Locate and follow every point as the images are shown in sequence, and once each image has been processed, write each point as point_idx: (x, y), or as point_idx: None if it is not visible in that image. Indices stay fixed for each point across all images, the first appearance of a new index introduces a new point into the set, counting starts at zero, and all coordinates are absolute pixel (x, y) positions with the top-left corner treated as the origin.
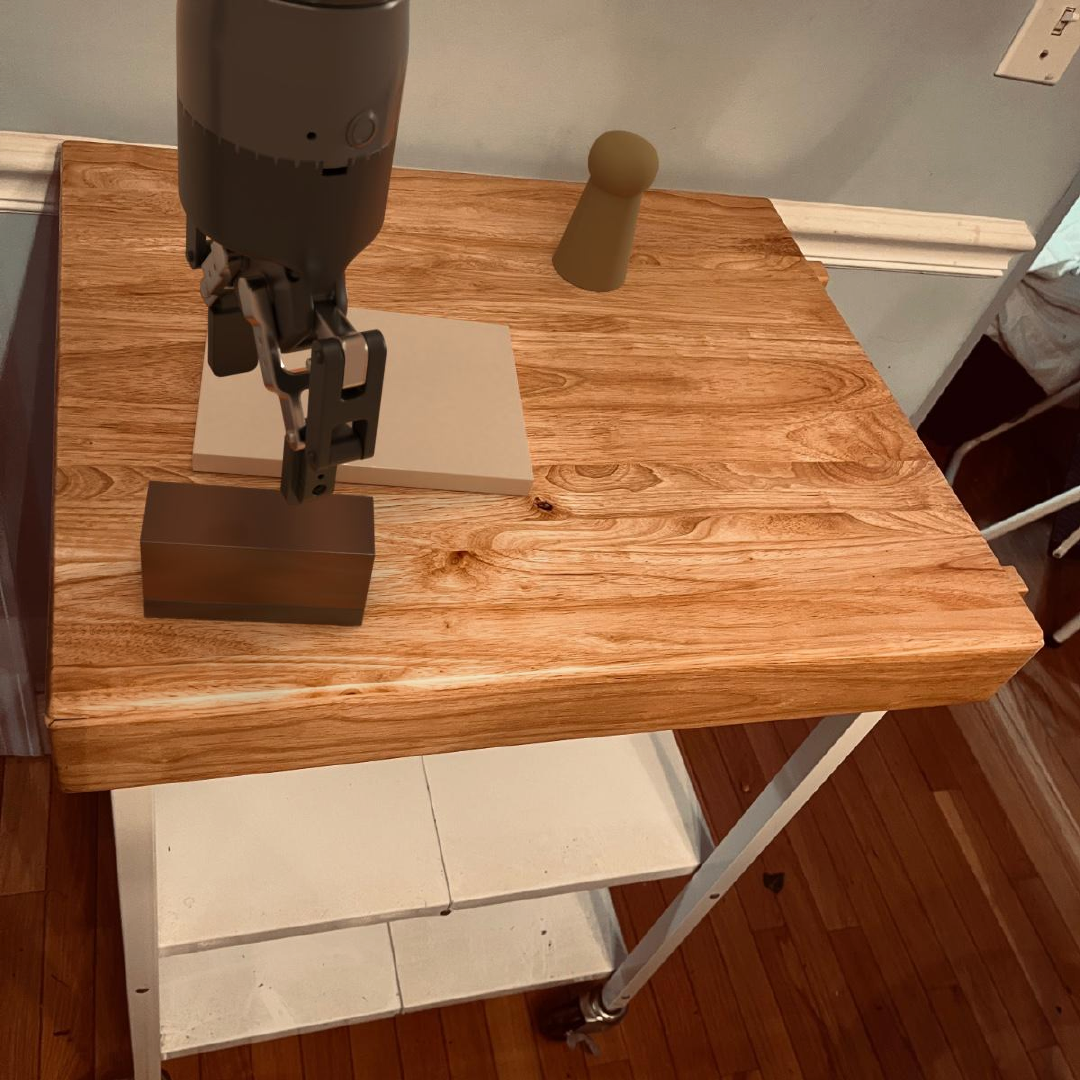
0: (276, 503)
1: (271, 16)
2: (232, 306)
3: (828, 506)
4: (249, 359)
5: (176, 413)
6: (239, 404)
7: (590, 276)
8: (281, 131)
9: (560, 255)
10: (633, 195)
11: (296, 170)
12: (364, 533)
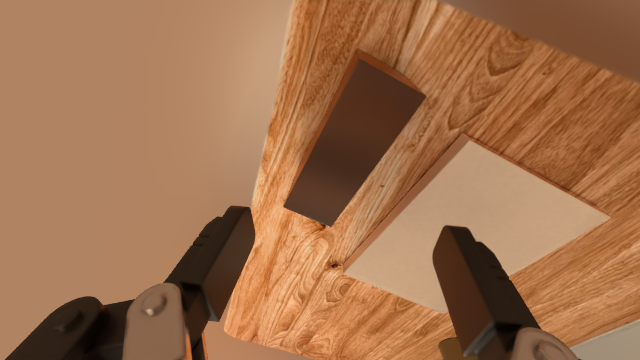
0: (350, 176)
1: None
2: (490, 347)
3: (291, 329)
4: (438, 265)
5: (521, 144)
6: (490, 185)
7: (449, 347)
8: None
9: None
10: None
11: None
12: (302, 210)
